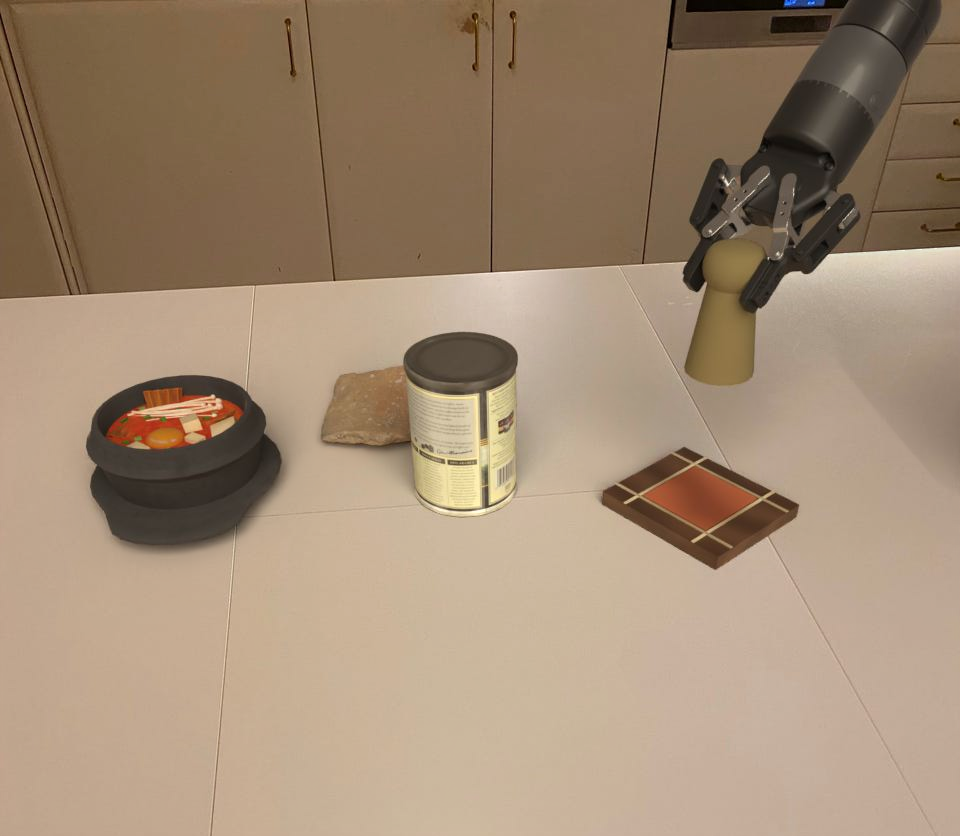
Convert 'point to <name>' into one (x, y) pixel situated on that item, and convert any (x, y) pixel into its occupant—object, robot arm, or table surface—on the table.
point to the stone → (369, 408)
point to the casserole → (179, 459)
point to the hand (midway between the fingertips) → (717, 296)
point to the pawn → (725, 316)
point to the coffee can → (462, 422)
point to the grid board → (700, 506)
